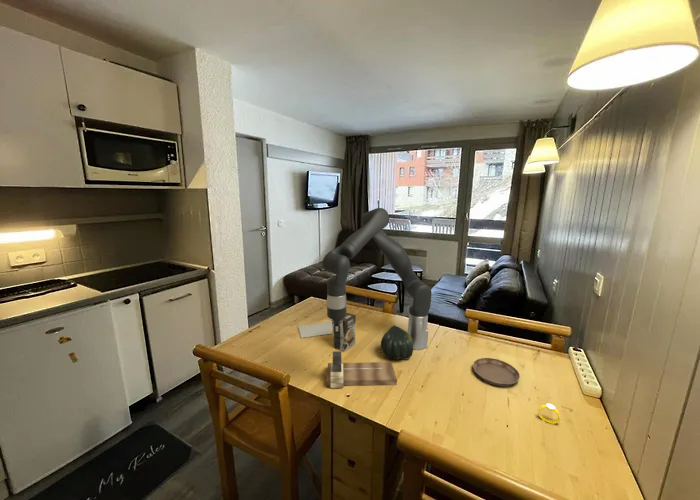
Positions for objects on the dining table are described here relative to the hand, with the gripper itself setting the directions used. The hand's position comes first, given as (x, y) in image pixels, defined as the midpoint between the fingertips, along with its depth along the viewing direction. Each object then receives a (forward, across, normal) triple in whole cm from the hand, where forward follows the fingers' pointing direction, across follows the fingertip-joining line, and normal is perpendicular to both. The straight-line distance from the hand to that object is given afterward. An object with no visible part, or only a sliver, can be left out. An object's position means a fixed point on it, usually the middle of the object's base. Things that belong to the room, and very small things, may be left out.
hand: (337, 342), depth 115 cm
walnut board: (+17, +2, -10) cm, 20 cm away
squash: (+17, +17, -28) cm, 37 cm away
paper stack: (+17, +49, +10) cm, 53 cm away
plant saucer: (+18, +1, -67) cm, 69 cm away
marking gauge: (+16, 0, 0) cm, 16 cm away
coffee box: (+17, +26, -4) cm, 32 cm away
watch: (+18, -24, -71) cm, 77 cm away
